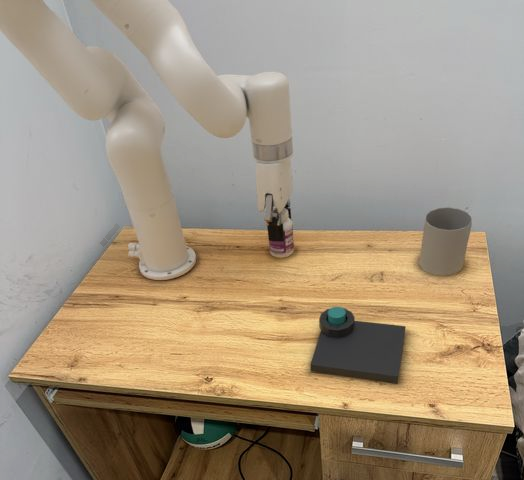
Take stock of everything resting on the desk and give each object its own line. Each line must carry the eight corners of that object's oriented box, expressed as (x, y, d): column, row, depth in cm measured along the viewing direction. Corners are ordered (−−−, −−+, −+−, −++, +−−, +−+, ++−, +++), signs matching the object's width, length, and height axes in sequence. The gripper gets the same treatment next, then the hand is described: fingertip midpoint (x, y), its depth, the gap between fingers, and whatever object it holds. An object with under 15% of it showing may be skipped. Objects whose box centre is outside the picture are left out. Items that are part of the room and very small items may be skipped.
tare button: (326, 324, 86) (326, 316, 84) (329, 313, 88) (329, 305, 86) (343, 326, 85) (344, 318, 84) (347, 315, 87) (347, 307, 86)
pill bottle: (292, 259, 107) (289, 218, 100) (268, 258, 108) (263, 218, 101) (296, 245, 110) (293, 205, 104) (272, 244, 111) (268, 205, 105)
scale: (308, 371, 82) (307, 356, 80) (323, 320, 91) (323, 305, 89) (397, 383, 78) (399, 368, 76) (405, 329, 87) (407, 314, 85)
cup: (450, 280, 96) (459, 235, 89) (411, 267, 100) (417, 223, 93) (470, 259, 100) (479, 214, 93) (431, 247, 104) (438, 203, 97)
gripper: (266, 129, 100) (274, 211, 113) (239, 167, 89) (251, 254, 101) (302, 129, 98) (306, 213, 110) (280, 168, 87) (287, 256, 99)
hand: (280, 232), depth 106 cm, fingers closed on pill bottle, 5 cm apart
